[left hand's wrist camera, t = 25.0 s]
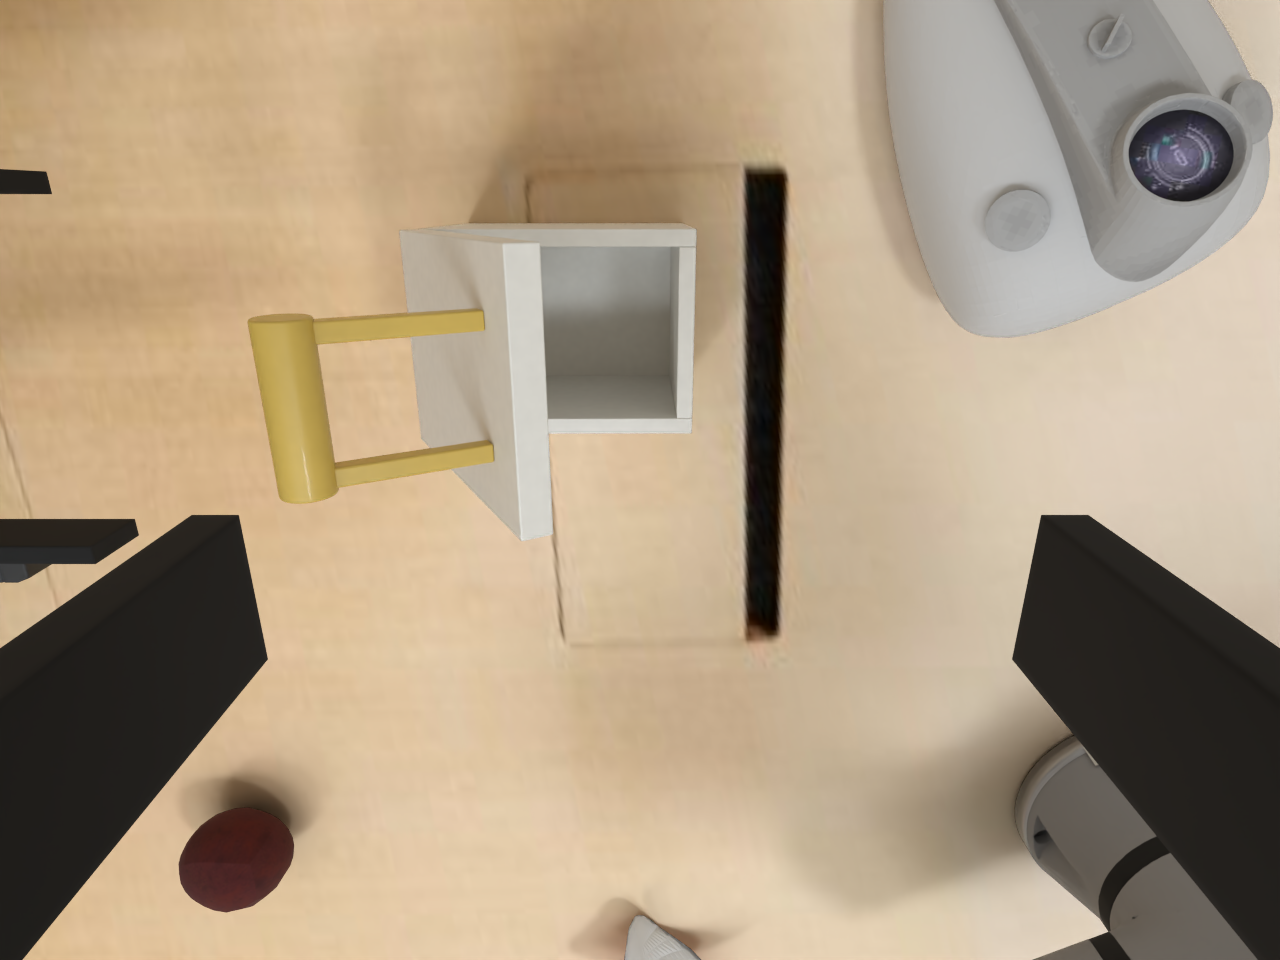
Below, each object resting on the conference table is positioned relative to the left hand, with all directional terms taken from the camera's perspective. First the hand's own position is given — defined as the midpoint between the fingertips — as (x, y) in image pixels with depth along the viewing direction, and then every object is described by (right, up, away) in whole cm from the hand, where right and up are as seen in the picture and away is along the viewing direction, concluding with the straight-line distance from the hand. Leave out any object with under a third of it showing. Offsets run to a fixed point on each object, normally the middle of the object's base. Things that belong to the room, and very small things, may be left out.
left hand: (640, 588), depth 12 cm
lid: (-6, +7, +18) cm, 20 cm away
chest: (-4, +13, +34) cm, 37 cm away
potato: (-31, -26, +48) cm, 63 cm away
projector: (+21, +23, +30) cm, 43 cm away
